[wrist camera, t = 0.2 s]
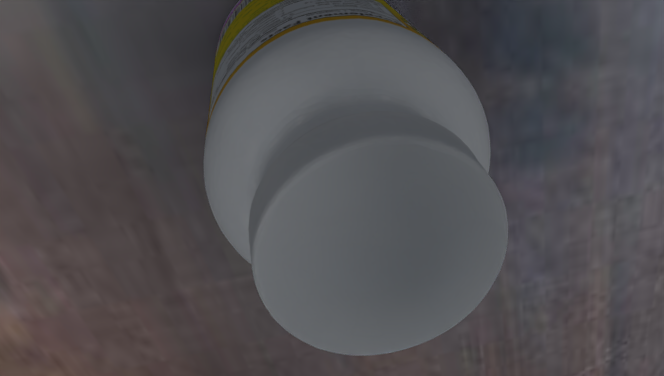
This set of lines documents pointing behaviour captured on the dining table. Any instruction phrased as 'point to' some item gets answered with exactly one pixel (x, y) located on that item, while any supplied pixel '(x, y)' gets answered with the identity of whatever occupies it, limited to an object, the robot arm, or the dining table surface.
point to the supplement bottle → (351, 173)
